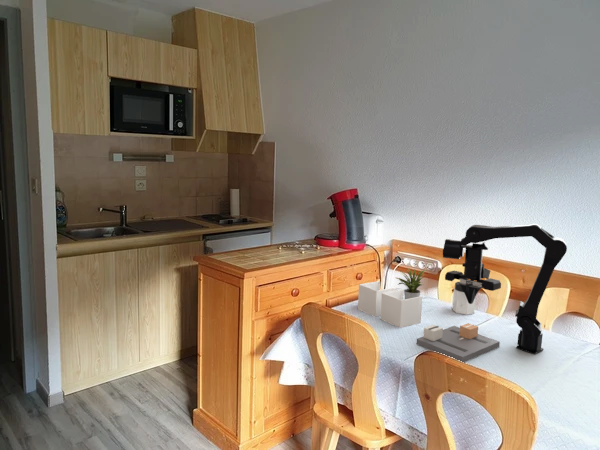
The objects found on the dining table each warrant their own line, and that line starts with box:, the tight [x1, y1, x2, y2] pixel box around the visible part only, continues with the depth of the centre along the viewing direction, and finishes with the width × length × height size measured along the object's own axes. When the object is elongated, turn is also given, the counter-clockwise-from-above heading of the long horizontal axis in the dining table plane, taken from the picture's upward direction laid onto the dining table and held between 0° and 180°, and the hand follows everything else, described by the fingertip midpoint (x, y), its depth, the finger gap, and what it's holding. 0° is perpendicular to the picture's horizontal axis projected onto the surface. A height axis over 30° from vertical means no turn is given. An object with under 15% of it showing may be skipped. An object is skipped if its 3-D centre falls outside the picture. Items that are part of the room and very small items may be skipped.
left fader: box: [423, 324, 444, 341], centre depth 161 cm, size 4×5×4 cm
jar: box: [451, 281, 477, 316], centre depth 196 cm, size 9×8×12 cm
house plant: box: [394, 267, 427, 300], centre depth 204 cm, size 14×14×16 cm
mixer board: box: [416, 325, 501, 363], centre depth 160 cm, size 18×22×2 cm
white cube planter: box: [357, 280, 423, 329], centre depth 188 cm, size 25×11×11 cm, turn 33°
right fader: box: [459, 323, 479, 339], centre depth 163 cm, size 4×5×4 cm
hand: (470, 303), depth 166 cm, fingers closed
